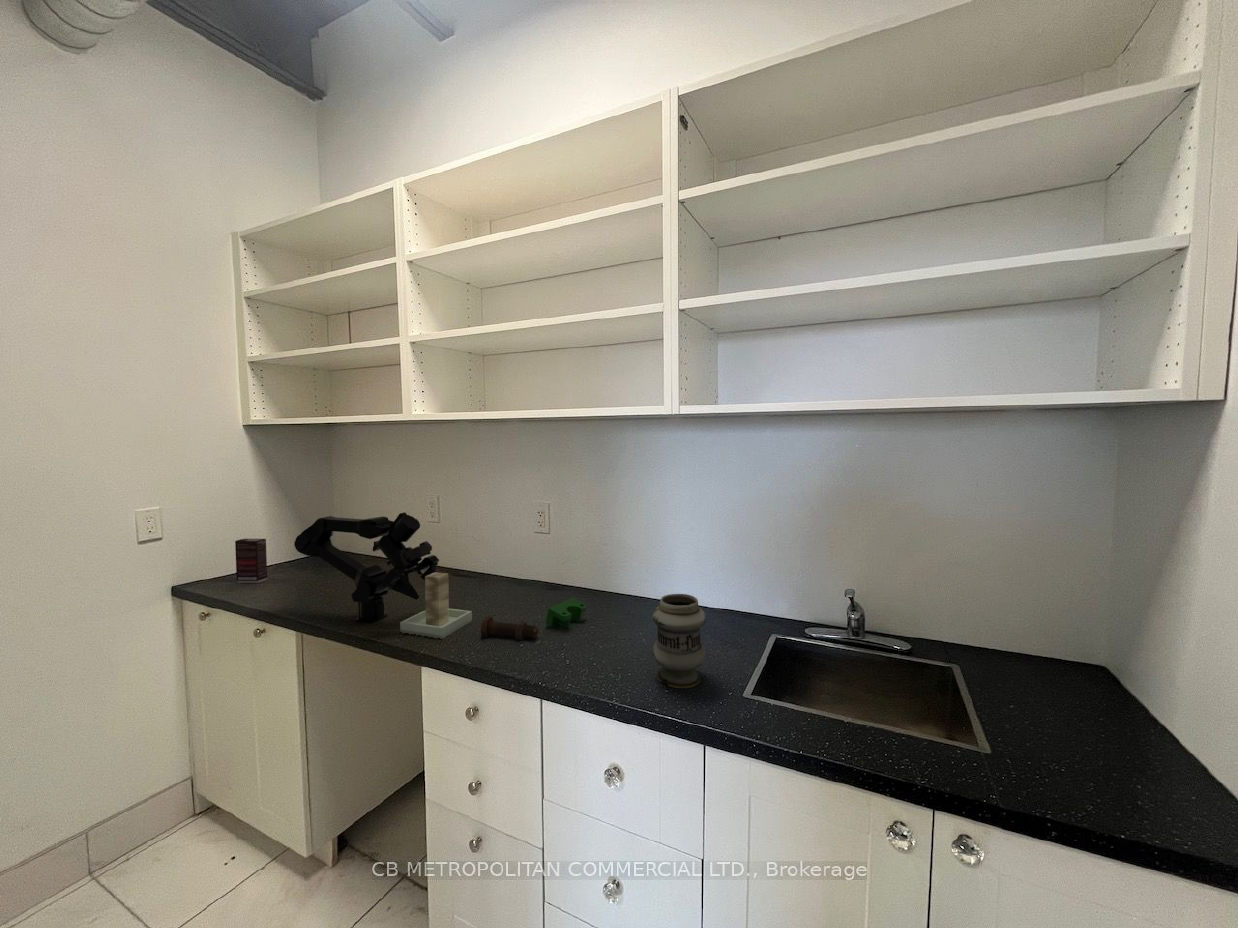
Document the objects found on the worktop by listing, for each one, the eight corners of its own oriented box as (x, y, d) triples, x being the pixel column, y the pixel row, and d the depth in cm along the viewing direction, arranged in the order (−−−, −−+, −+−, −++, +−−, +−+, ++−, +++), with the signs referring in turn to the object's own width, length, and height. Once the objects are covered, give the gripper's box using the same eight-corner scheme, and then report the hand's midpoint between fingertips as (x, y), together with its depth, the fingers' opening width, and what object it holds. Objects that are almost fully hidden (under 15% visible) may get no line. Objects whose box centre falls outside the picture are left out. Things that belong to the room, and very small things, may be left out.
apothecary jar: (641, 678, 109) (641, 599, 109) (671, 660, 118) (672, 587, 118) (686, 697, 101) (687, 612, 101) (715, 676, 111) (717, 597, 110)
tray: (400, 632, 135) (400, 622, 135) (432, 616, 148) (432, 606, 148) (442, 639, 131) (442, 627, 130) (471, 621, 144) (471, 611, 143)
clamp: (562, 643, 139) (560, 621, 134) (547, 634, 142) (544, 611, 137) (589, 617, 147) (587, 594, 142) (574, 608, 150) (572, 586, 146)
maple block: (425, 625, 138) (425, 576, 137) (435, 619, 142) (435, 572, 141) (439, 627, 136) (438, 577, 136) (448, 621, 141) (448, 573, 140)
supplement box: (268, 579, 185) (266, 538, 185) (258, 583, 180) (256, 540, 180) (246, 579, 186) (244, 538, 185) (235, 583, 181) (234, 540, 180)
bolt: (535, 647, 131) (483, 641, 133) (541, 631, 135) (490, 626, 137) (532, 632, 127) (478, 626, 130) (538, 617, 132) (486, 611, 134)
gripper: (389, 540, 131) (424, 585, 129) (433, 528, 149) (465, 567, 147) (365, 566, 134) (399, 611, 131) (412, 552, 152) (442, 590, 149)
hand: (428, 593), depth 139 cm, fingers open, 9 cm apart
